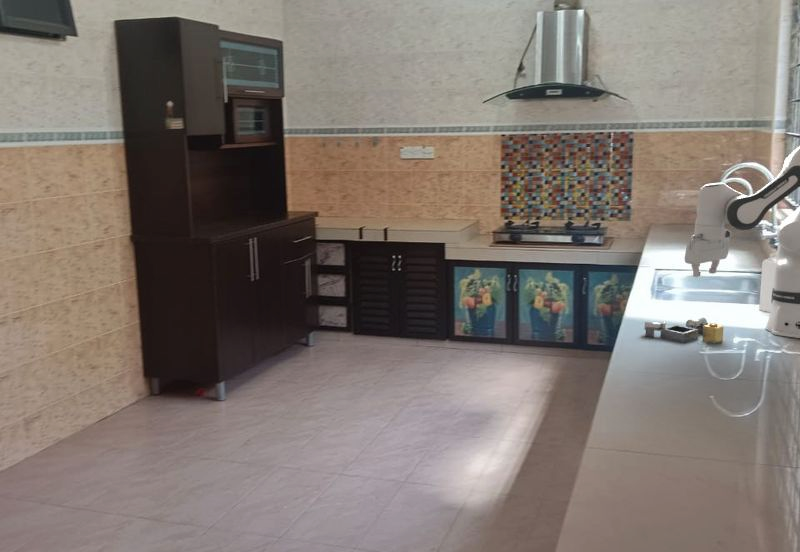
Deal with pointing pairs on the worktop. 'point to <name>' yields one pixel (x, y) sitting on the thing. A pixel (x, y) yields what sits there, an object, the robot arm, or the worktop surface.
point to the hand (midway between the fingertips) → (704, 274)
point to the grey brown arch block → (653, 328)
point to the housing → (679, 333)
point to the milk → (767, 282)
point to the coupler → (712, 333)
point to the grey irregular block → (697, 324)
